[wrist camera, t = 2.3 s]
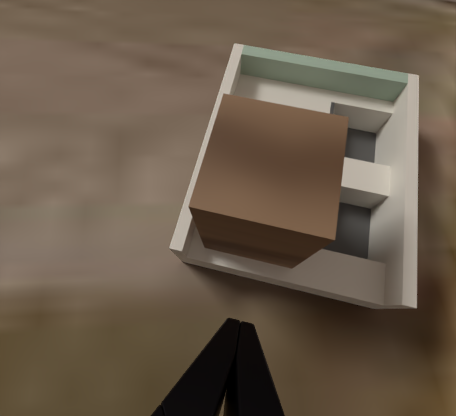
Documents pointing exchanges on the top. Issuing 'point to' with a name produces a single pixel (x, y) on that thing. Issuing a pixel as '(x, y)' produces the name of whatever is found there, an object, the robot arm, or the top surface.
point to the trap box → (351, 178)
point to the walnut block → (270, 181)
